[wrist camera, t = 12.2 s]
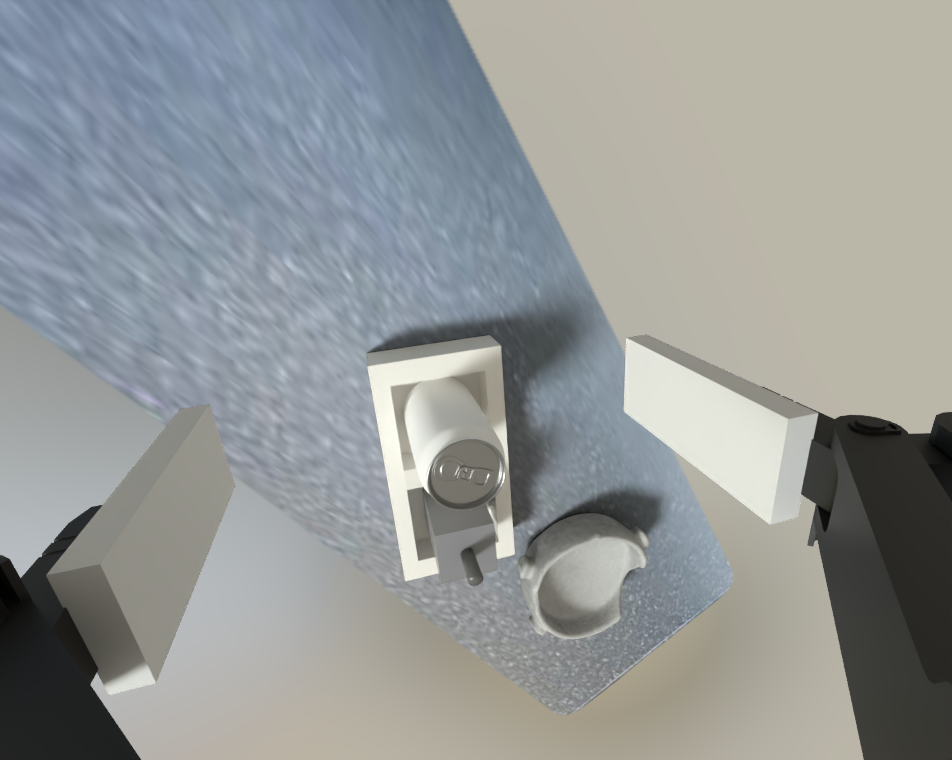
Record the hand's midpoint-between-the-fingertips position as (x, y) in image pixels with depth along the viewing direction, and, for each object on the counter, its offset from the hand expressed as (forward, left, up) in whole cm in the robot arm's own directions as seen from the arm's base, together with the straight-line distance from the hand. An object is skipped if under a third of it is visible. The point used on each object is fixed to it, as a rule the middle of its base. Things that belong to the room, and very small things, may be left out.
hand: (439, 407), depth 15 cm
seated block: (+22, +3, -26) cm, 34 cm away
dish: (+34, +16, -27) cm, 46 cm away
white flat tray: (+17, +3, -27) cm, 32 cm away
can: (+12, +3, -26) cm, 29 cm away
